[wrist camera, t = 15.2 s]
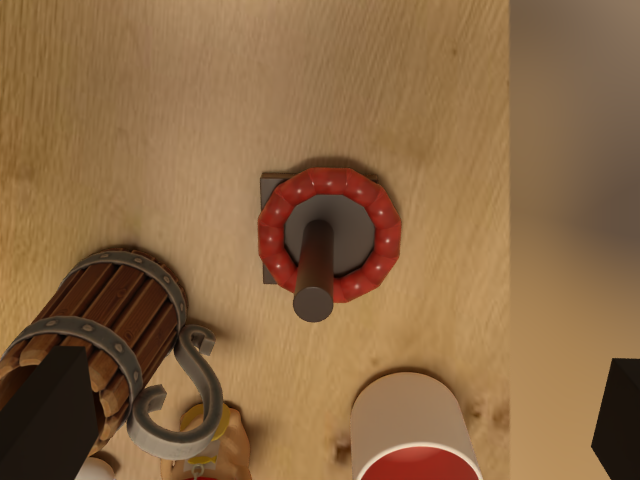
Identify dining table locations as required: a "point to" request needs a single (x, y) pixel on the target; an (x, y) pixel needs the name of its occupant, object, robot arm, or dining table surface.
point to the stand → (321, 245)
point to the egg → (95, 470)
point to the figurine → (213, 450)
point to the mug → (123, 348)
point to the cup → (410, 432)
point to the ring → (331, 184)
